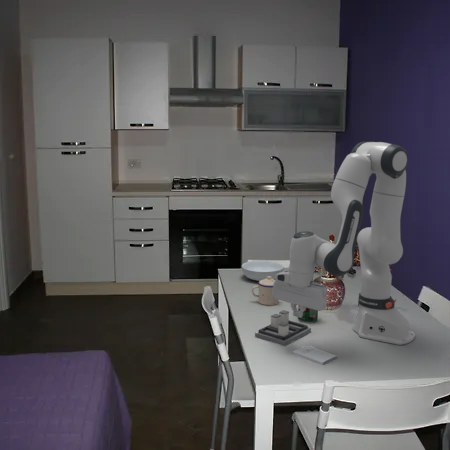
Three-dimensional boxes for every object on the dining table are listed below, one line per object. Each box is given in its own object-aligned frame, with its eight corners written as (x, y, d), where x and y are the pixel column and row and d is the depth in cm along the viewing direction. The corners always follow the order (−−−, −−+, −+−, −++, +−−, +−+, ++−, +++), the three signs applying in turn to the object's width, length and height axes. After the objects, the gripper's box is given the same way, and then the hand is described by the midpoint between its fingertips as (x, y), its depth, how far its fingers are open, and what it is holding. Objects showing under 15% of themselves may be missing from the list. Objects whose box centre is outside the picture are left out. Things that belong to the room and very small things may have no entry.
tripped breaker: (288, 336, 205) (288, 323, 204) (283, 338, 203) (284, 325, 202) (282, 334, 207) (283, 321, 206) (278, 336, 204) (278, 324, 204)
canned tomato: (320, 318, 229) (322, 292, 227) (312, 324, 222) (313, 297, 220) (302, 314, 233) (304, 288, 231) (294, 320, 227) (295, 293, 225)
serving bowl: (237, 274, 292) (237, 261, 290) (277, 272, 296) (277, 260, 294) (246, 285, 272) (246, 271, 270) (288, 284, 275) (289, 270, 274)
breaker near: (288, 323, 218) (288, 311, 217) (284, 325, 216) (284, 313, 215) (283, 321, 220) (283, 310, 219) (278, 324, 217) (279, 312, 216)
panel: (310, 331, 214) (311, 325, 214) (284, 346, 201) (284, 339, 200) (281, 323, 222) (282, 317, 222) (254, 336, 209) (255, 330, 208)
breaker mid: (280, 327, 214) (281, 315, 213) (275, 329, 212) (276, 317, 211) (275, 325, 215) (275, 313, 214) (270, 327, 213) (271, 315, 212)
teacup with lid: (277, 299, 252) (278, 273, 250) (279, 306, 243) (280, 279, 241) (250, 298, 252) (251, 273, 250) (251, 305, 243) (252, 279, 241)
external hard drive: (322, 367, 186) (292, 355, 195) (337, 359, 192) (307, 348, 200) (322, 362, 186) (292, 350, 194) (337, 355, 191) (307, 344, 200)
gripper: (331, 283, 193) (328, 321, 195) (281, 270, 205) (278, 307, 208) (322, 286, 188) (319, 326, 190) (271, 273, 200) (268, 311, 203)
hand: (297, 316), depth 199 cm, fingers closed
